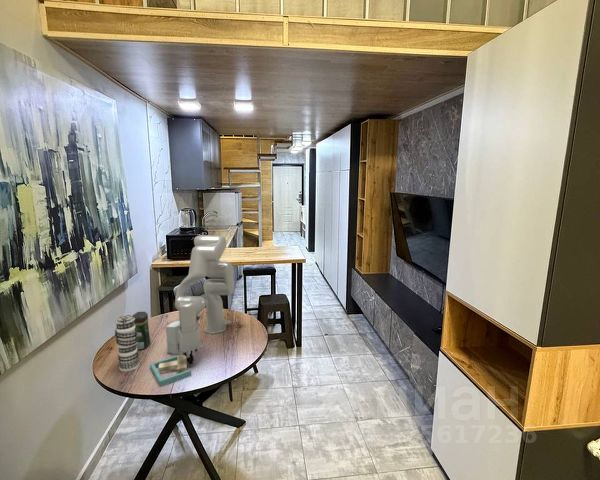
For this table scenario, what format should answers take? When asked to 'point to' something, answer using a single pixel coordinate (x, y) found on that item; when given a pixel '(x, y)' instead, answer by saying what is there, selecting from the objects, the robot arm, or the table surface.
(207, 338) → the table surface
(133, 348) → the decorative candle
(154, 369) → the dock
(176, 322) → the skincare box
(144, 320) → the coffee jar
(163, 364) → the tee block
